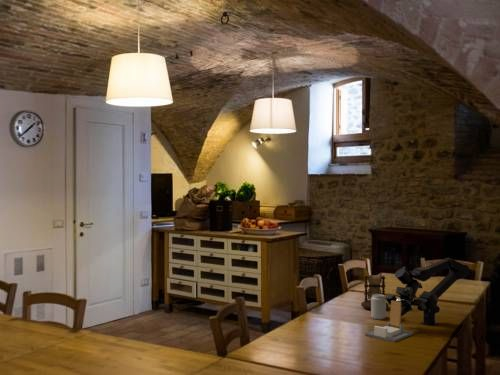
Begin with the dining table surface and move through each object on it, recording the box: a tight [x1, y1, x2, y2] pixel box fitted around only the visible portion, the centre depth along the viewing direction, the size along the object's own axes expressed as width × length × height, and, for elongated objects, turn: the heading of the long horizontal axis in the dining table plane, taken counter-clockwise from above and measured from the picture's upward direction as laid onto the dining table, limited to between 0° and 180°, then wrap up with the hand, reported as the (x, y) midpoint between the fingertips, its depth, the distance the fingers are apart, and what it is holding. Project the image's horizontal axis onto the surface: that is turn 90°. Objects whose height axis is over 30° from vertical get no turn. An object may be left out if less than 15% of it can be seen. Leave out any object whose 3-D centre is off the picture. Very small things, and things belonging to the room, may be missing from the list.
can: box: [370, 293, 387, 320], centre depth 281 cm, size 8×8×12 cm
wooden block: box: [389, 300, 402, 327], centre depth 254 cm, size 1×5×11 cm, turn 45°
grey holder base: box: [364, 321, 414, 343], centre depth 250 cm, size 17×15×5 cm
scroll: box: [361, 271, 389, 311], centre depth 302 cm, size 15×15×20 cm
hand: (398, 317), depth 256 cm, fingers closed
